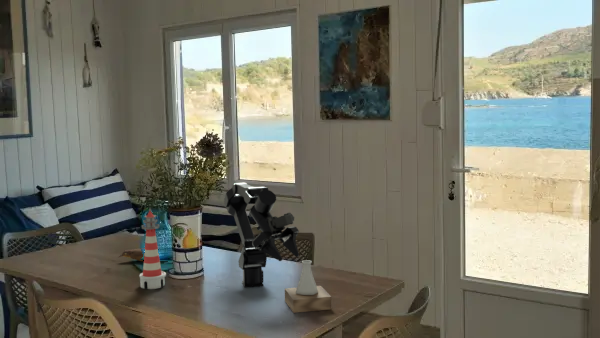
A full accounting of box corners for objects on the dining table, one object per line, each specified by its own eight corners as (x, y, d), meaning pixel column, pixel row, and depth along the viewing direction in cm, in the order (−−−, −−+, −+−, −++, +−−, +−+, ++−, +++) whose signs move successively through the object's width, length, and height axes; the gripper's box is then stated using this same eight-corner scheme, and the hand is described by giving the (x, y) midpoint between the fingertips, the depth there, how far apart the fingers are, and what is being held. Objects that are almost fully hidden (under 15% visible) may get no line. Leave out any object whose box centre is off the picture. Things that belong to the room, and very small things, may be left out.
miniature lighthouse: (171, 283, 220) (168, 199, 217) (157, 290, 211) (154, 203, 208) (149, 280, 223) (146, 198, 220) (134, 288, 214) (131, 202, 211)
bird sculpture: (180, 260, 252) (180, 248, 251) (117, 264, 247) (116, 252, 246) (180, 256, 258) (180, 245, 258) (118, 260, 253) (118, 248, 253)
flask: (314, 296, 190) (314, 265, 188) (292, 294, 192) (292, 263, 191) (321, 290, 196) (321, 259, 195) (299, 288, 199) (299, 257, 198)
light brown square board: (293, 312, 187) (293, 299, 187) (284, 300, 199) (284, 288, 198) (331, 309, 190) (331, 296, 190) (320, 297, 202) (320, 285, 201)
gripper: (261, 207, 193) (288, 247, 188) (295, 202, 208) (321, 239, 203) (241, 228, 198) (266, 268, 193) (276, 222, 213) (300, 259, 208)
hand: (289, 258), depth 199 cm, fingers open, 9 cm apart
